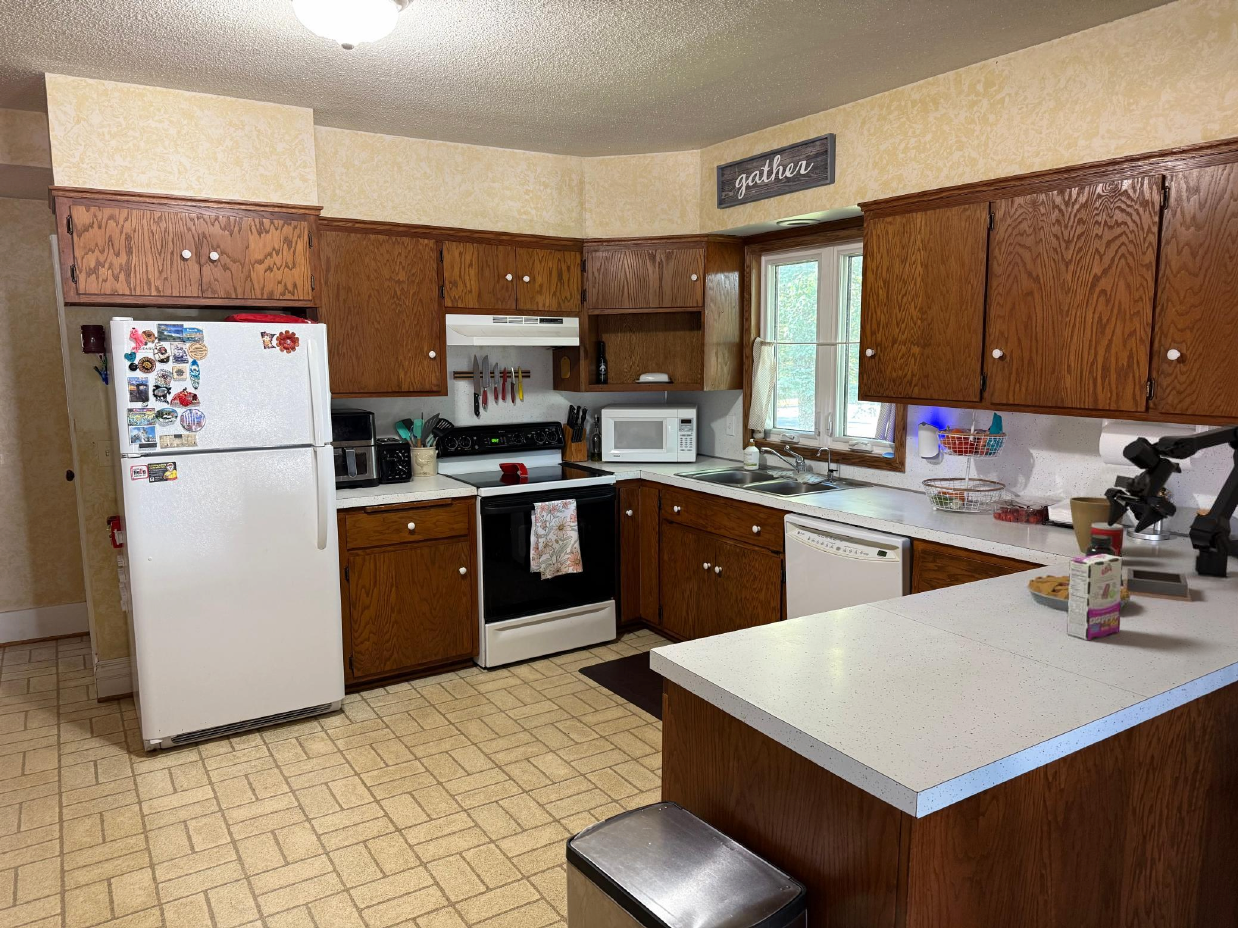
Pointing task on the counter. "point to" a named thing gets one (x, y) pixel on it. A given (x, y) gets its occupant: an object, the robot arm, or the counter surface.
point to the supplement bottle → (1100, 546)
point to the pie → (1058, 592)
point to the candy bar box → (1094, 596)
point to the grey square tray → (1157, 584)
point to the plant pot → (1088, 517)
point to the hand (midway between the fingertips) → (1122, 528)
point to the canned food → (1110, 535)
